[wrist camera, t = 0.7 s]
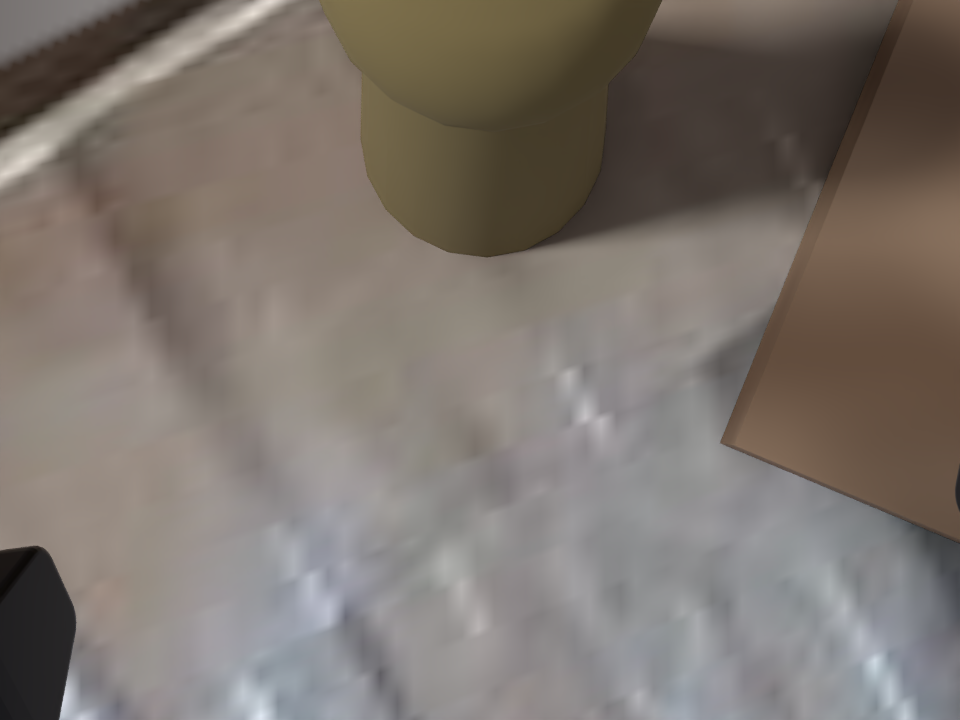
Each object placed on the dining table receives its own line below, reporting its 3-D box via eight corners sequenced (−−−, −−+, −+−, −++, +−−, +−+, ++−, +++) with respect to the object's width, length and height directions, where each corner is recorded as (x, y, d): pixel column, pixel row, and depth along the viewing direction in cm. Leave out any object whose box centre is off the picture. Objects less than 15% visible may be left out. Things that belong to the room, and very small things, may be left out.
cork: (634, 54, 22) (790, -281, 11) (566, 286, 22) (659, 172, 11) (401, -14, 22) (332, -414, 11) (330, 217, 22) (190, 34, 11)
